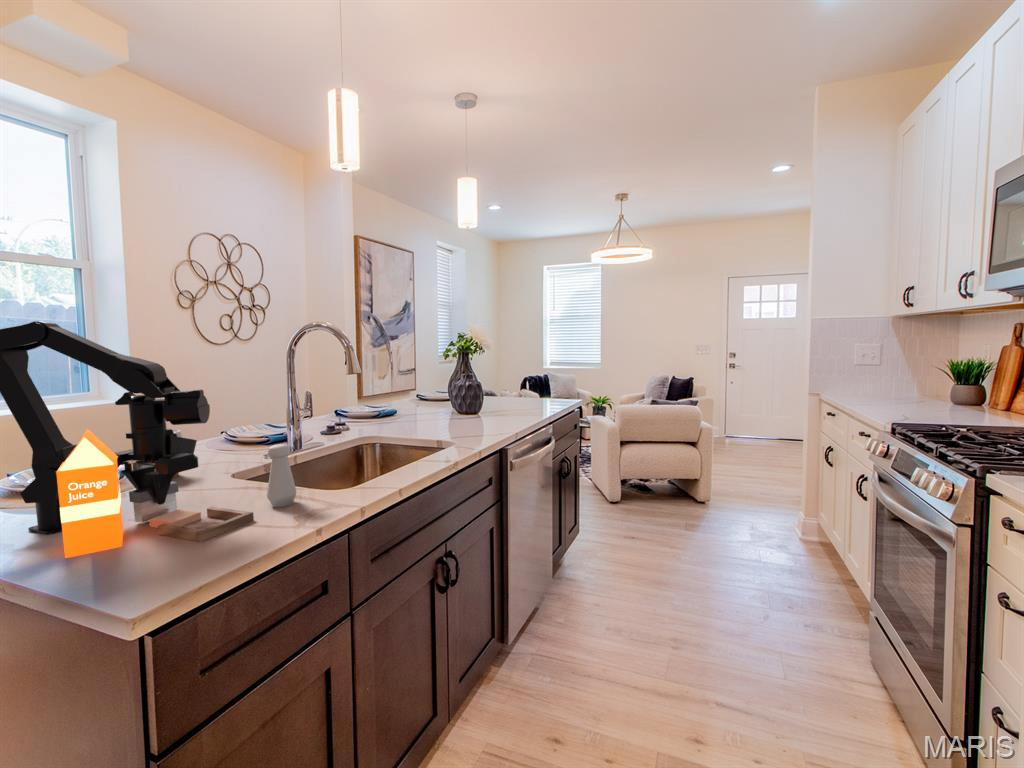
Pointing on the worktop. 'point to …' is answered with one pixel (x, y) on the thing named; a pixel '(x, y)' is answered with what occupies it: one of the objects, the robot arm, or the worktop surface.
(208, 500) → the worktop surface
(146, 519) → the grey block
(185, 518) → the tile
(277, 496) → the salt shaker
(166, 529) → the bay
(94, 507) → the orange juice
